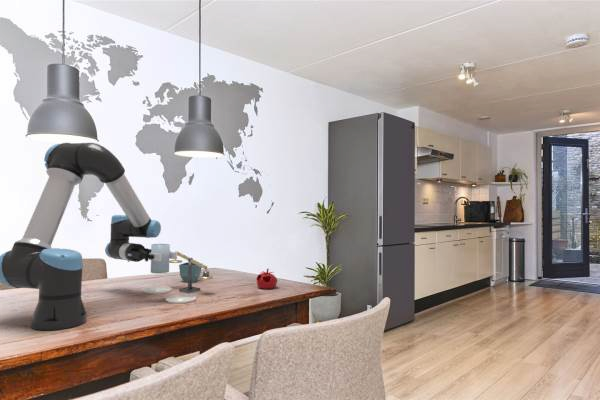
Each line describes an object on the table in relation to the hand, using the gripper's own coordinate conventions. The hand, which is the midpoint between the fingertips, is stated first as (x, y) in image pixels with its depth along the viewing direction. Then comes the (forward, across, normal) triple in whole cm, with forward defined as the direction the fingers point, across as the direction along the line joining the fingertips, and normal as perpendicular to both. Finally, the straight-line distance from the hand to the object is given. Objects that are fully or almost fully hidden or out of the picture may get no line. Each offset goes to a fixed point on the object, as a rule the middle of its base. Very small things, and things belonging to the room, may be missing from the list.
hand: (168, 256), depth 158 cm
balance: (-10, -20, -18) cm, 29 cm away
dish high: (-21, -12, -18) cm, 30 cm away
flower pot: (-28, -37, -18) cm, 49 cm away
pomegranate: (+13, -48, -18) cm, 53 cm away
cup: (-5, 0, -6) cm, 8 cm away
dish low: (+1, -6, -18) cm, 19 cm away
